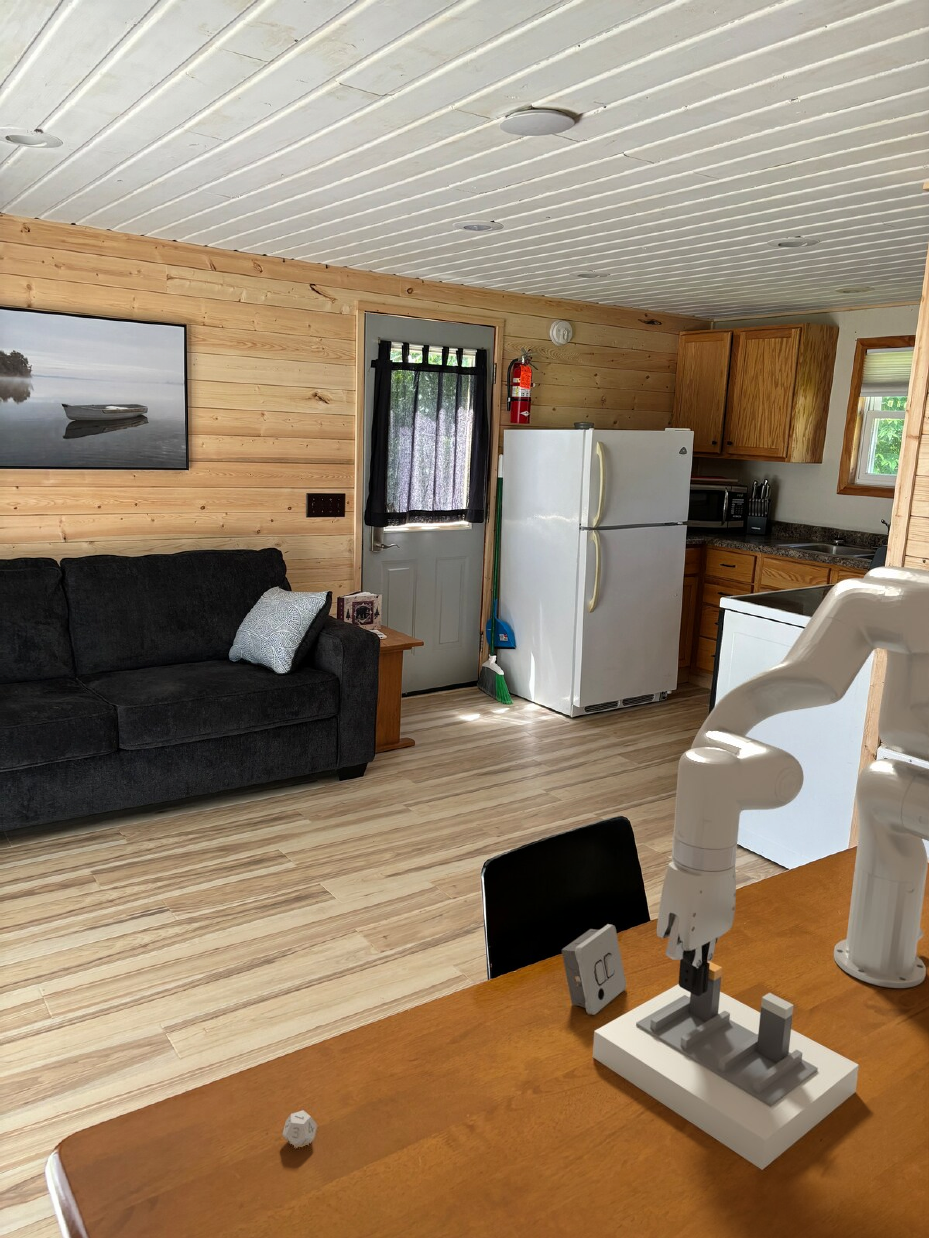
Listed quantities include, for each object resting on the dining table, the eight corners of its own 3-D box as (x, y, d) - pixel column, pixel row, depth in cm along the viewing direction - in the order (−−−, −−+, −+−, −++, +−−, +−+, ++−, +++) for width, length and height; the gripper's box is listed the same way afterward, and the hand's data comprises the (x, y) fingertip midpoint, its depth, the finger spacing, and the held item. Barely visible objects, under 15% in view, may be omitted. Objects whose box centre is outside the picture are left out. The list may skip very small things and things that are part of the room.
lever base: (689, 1000, 133) (696, 924, 131) (855, 1091, 115) (865, 1005, 113) (592, 1056, 120) (597, 973, 118) (762, 1169, 102) (772, 1074, 100)
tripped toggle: (696, 1007, 124) (700, 956, 122) (717, 1019, 121) (722, 967, 120) (688, 1012, 123) (693, 960, 121) (710, 1024, 120) (714, 971, 119)
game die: (295, 1125, 106) (295, 1101, 106) (323, 1137, 105) (323, 1112, 104) (276, 1146, 103) (275, 1121, 103) (304, 1158, 102) (304, 1133, 101)
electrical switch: (592, 1018, 128) (590, 952, 127) (559, 1007, 131) (557, 942, 130) (627, 989, 135) (625, 926, 134) (595, 979, 138) (593, 917, 137)
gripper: (714, 826, 123) (703, 956, 127) (639, 856, 114) (630, 996, 117) (765, 845, 118) (752, 981, 121) (692, 879, 108) (680, 1026, 112)
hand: (692, 988), depth 119 cm, fingers closed
